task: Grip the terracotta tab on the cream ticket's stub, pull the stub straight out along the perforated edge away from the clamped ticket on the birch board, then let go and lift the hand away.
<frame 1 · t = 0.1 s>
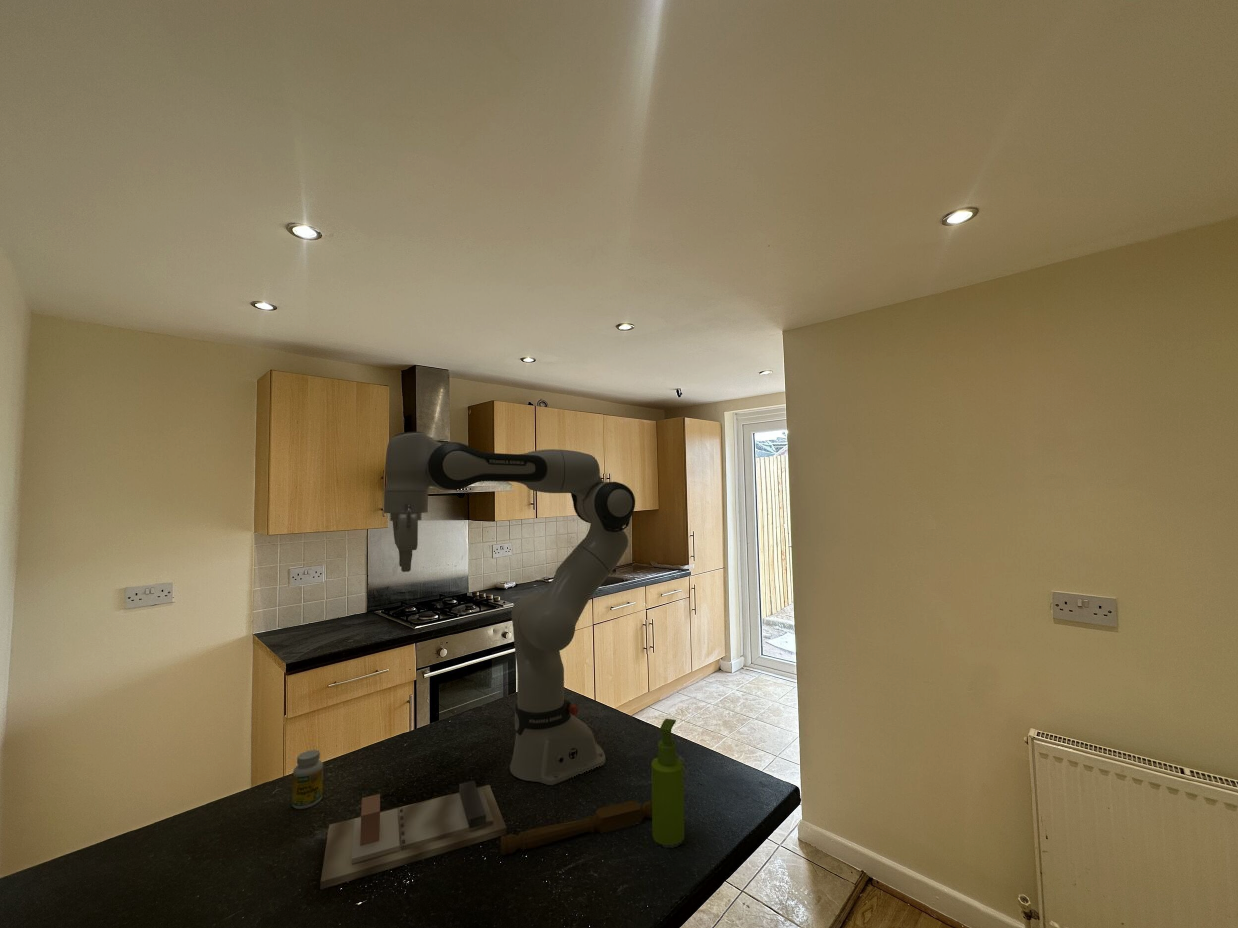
hand: (404, 568, 108), 48 cm above the countertop, tool pointing down, fingers open, 8 cm apart
soap dispenser: (669, 836, 92), on the countertop
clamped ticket: (417, 832, 94), on the countertop
tap handle: (582, 835, 93), on the countertop
stub: (376, 819, 91), point 4 cm above the countertop, slide at 0.0 cm
supplement bottle: (307, 802, 104), on the countertop
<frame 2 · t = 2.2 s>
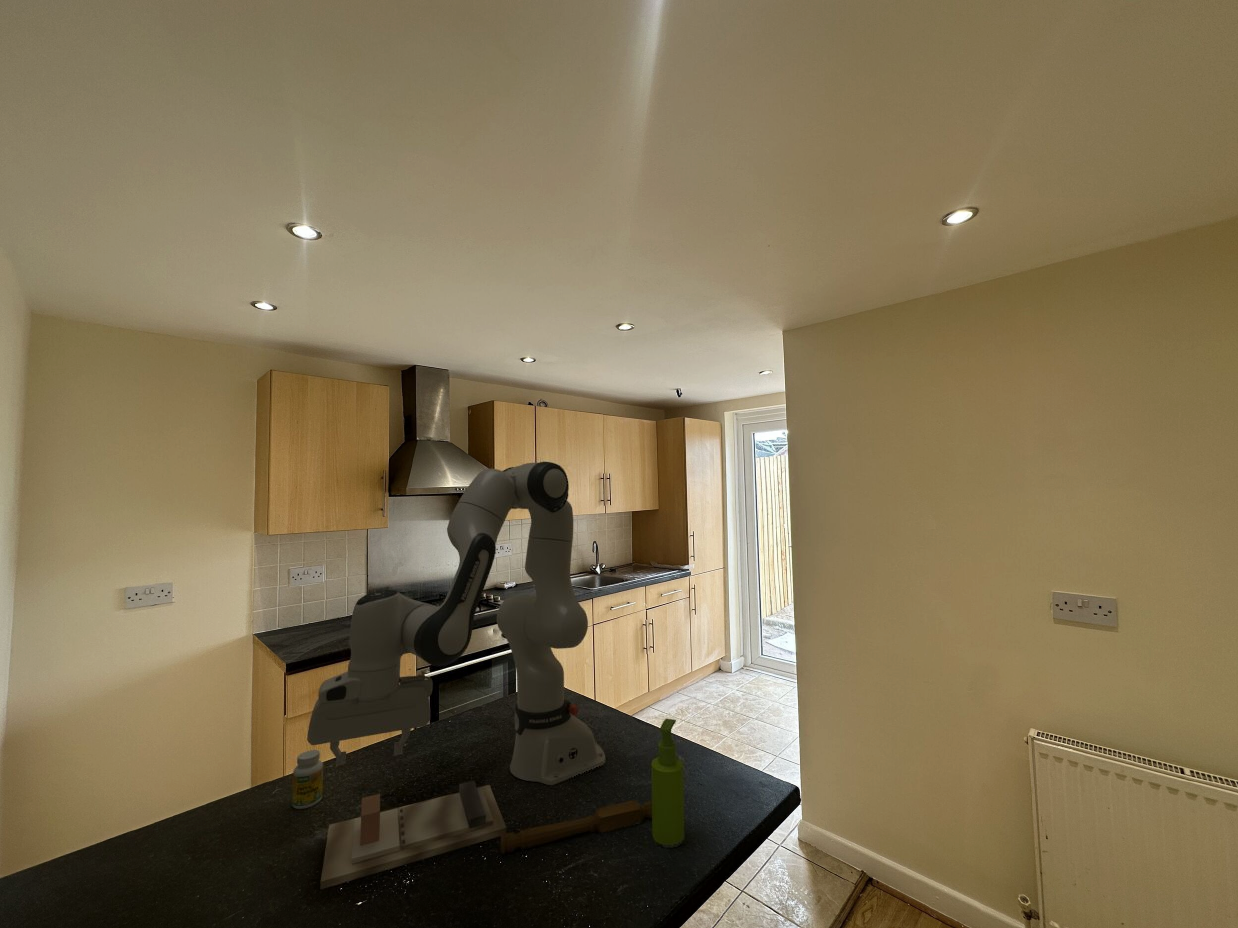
hand: (370, 758, 91), 15 cm above the countertop, tool pointing down, fingers open, 8 cm apart
nothing on the countertop moved.
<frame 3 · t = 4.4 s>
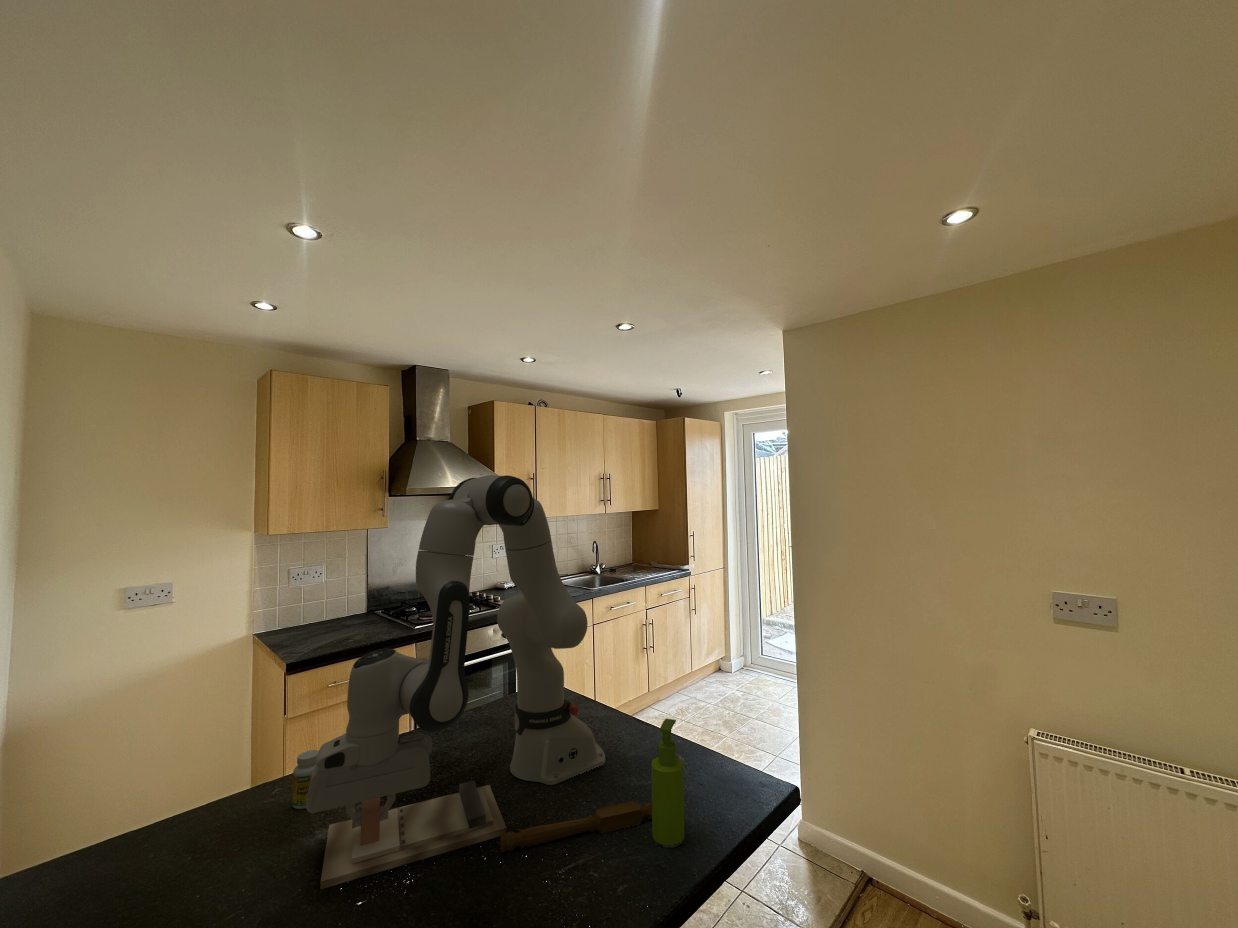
hand: (370, 821, 91), 4 cm above the countertop, tool pointing down, fingers closed on stub, 3 cm apart
stub: (376, 819, 91), point 4 cm above the countertop, slide at 0.0 cm, touching gripper
everything else where it was.
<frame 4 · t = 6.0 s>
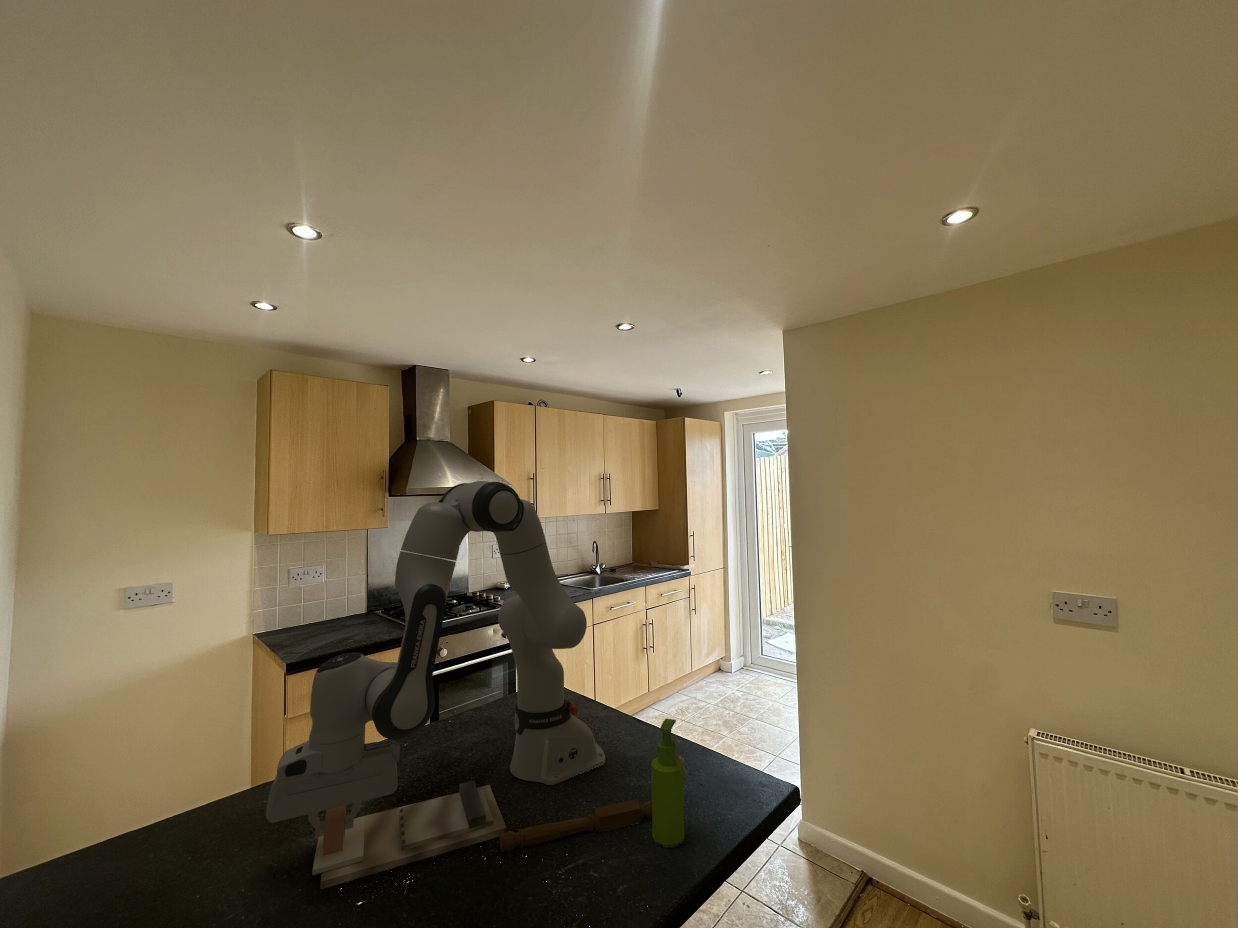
hand: (334, 830, 88), 4 cm above the countertop, tool pointing down, fingers closed on stub, 3 cm apart
stub: (341, 828, 89), point 4 cm above the countertop, slide at 5.7 cm, touching gripper
everything else where it was.
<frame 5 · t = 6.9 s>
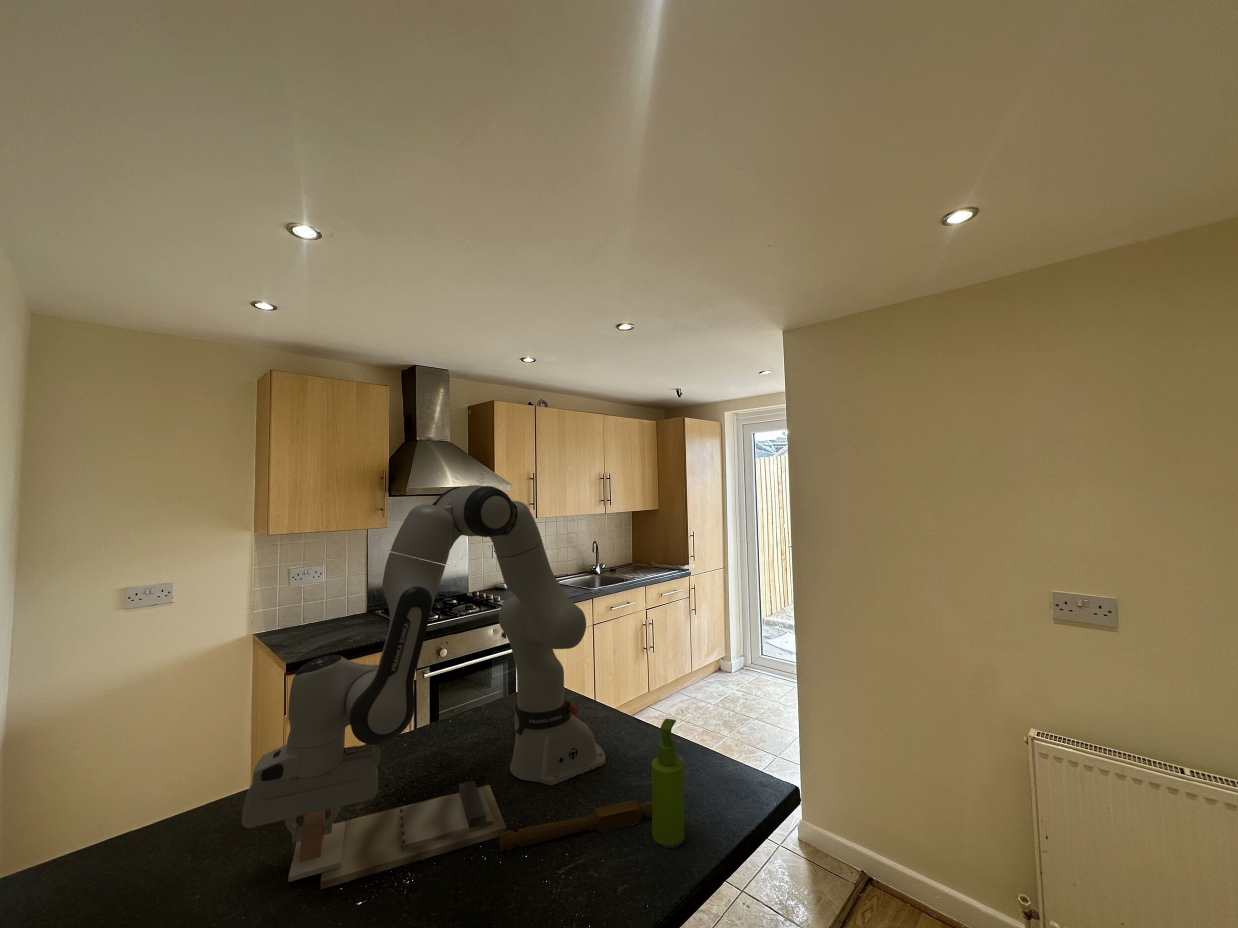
hand: (312, 836, 87), 4 cm above the countertop, tool pointing down, fingers closed on stub, 3 cm apart
stub: (319, 833, 87), point 4 cm above the countertop, slide at 9.0 cm, touching gripper
everything else where it was.
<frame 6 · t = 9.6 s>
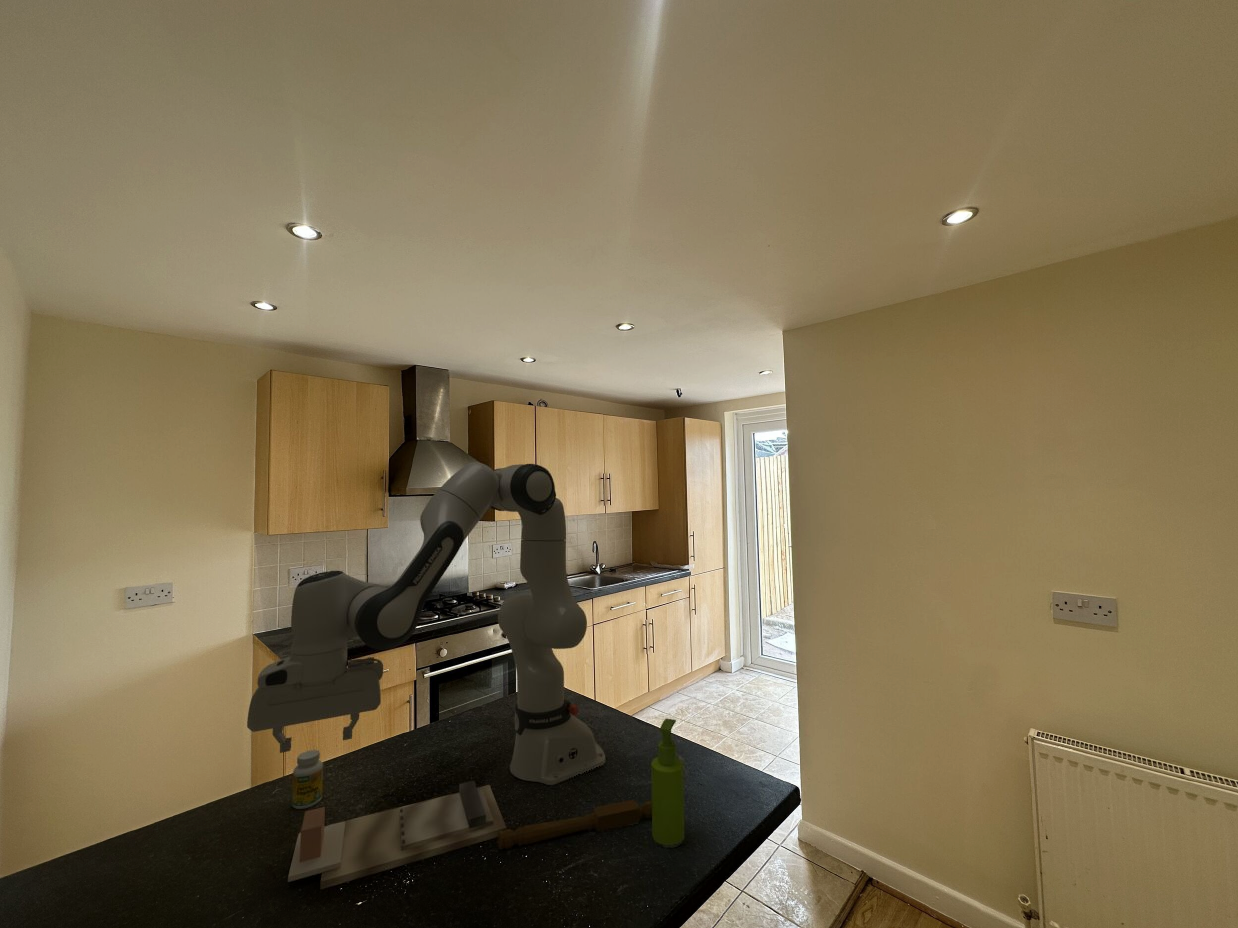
hand: (317, 744, 88), 19 cm above the countertop, tool pointing down, fingers open, 8 cm apart
stub: (319, 833, 87), point 4 cm above the countertop, slide at 9.0 cm
everything else where it was.
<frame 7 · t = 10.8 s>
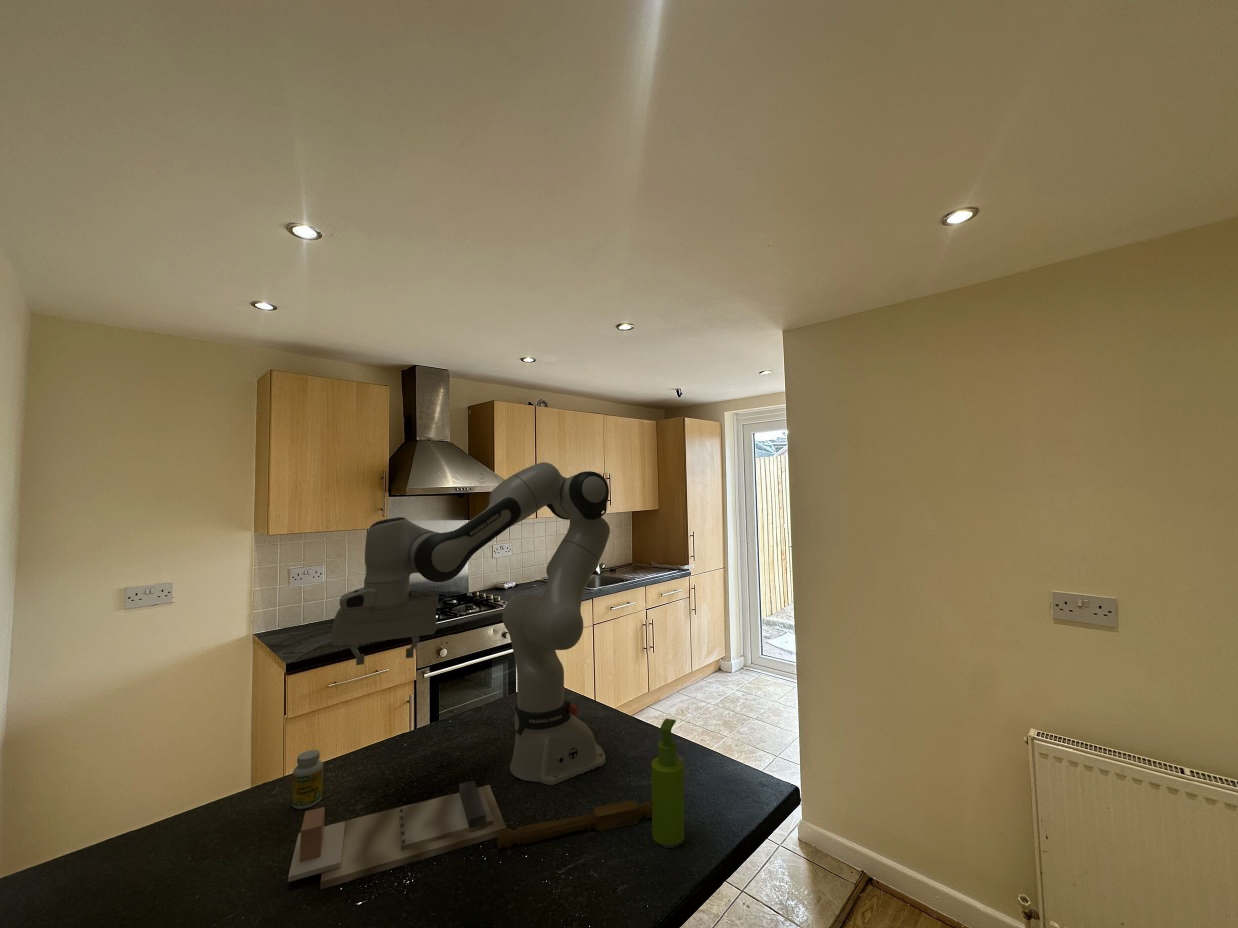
hand: (385, 660, 105), 29 cm above the countertop, tool pointing down, fingers open, 8 cm apart
nothing on the countertop moved.
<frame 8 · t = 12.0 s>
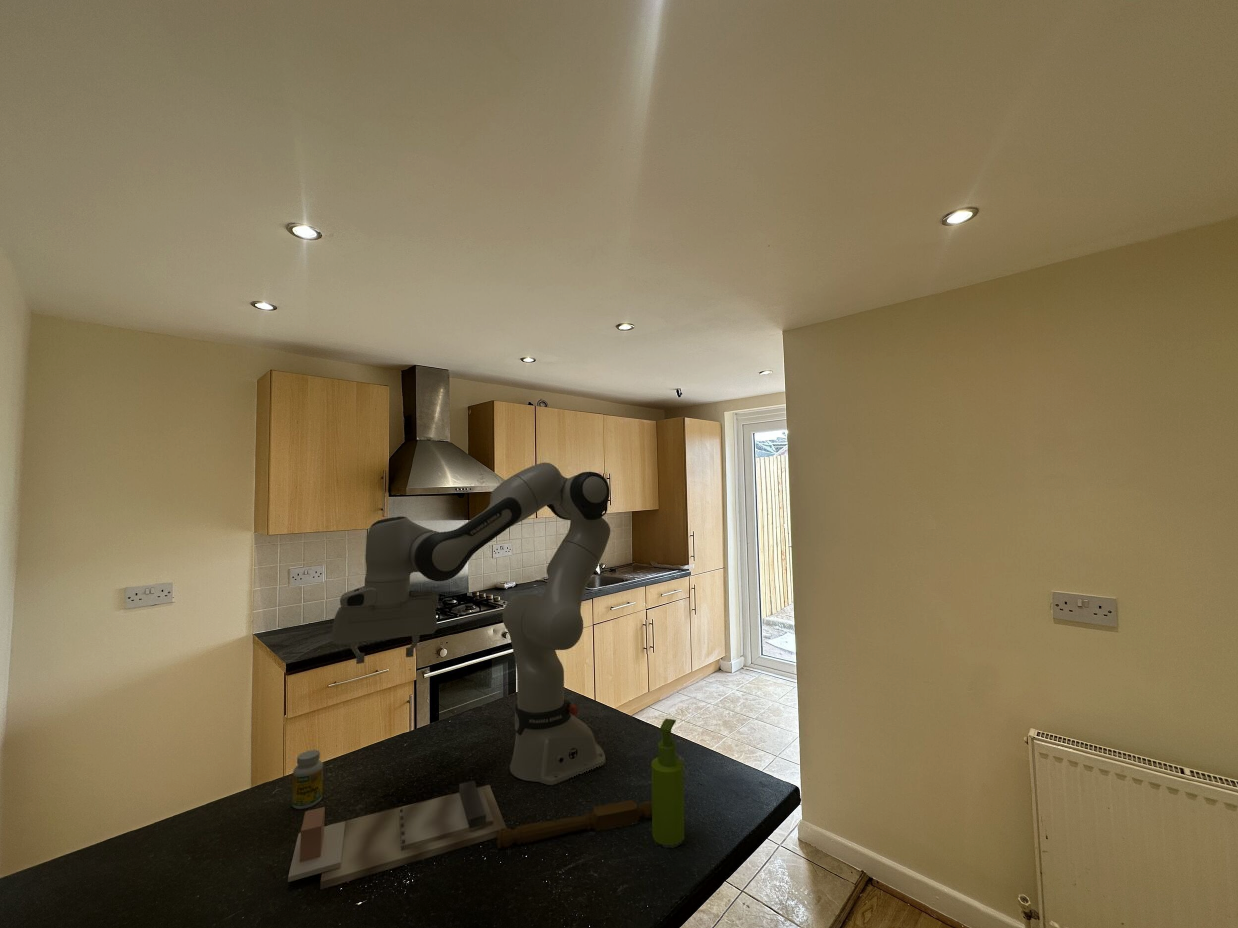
hand: (385, 659, 105), 29 cm above the countertop, tool pointing down, fingers open, 8 cm apart
at the end: stub slide at 9.0 cm; the gripper is holding nothing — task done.
